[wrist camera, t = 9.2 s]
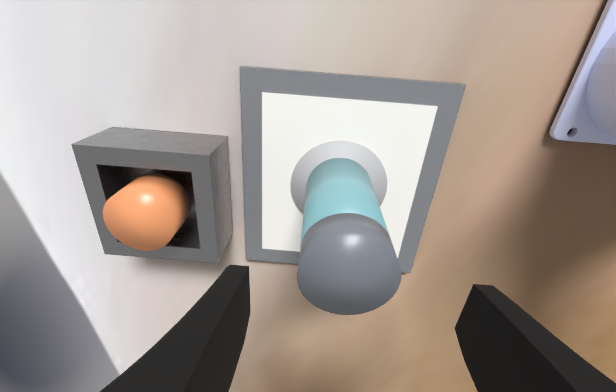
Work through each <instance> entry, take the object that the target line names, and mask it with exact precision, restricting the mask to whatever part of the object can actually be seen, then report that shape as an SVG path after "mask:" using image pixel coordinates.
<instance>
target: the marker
mask: <svg viewBox="0 0 616 392" xmlns="http://www.w3.org/2000/svg"><path fill="white" fill-rule="evenodd" d="M297 280H298V285H299V288H300V290H301V292H302V294H303V295H304V296H305V298H306V299H307V300H308V301H309V302H311V303H312V304H313V305H315V306H316V307H318V308H320V309H322V310H324V311H327V312H330V313H335V314H341V315H355V314H361V313H366V312H369V311H372V310H374V309H376V308H378V307H380V306H382V305H383V304H385V303H386V302H387V301H389V300H390V299H391V298H392V297H393V295H394V294H395V293H396V291H397V289H398V287H399V285H400V281H401V267H400V264H399V261H398V259H397V256H396V253H395V250H394V247H393V244H392V241H391V238H390V235H389V232H388V230H387V227H386V224H385V221H384V218H383V215H382V212H381V209H380V206H379V203H378V200H377V198H376V195H375V192H374V189H373V186H372V183H371V180H370V177H369V175H368V173H367V171H366V170H365V169H364V168H363V167H362V166H361V165H360V164H359V163H357V162H355V161H353V160H351V159H347V158H333V159H329V160H326V161H324V162H322V163H320V164H319V165H318V166H316V167H315V168H314V169H313V171H312V172H311V174H310V175H309V178H308V181H307V187H306V196H305V206H304V215H303V225H302V234H301V243H300V253H299V262H298V272H297Z"/></svg>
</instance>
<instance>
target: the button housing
mask: <svg viewBox="0 0 616 392" xmlns="http://www.w3.org/2000/svg"><path fill="white" fill-rule="evenodd" d="M71 145H72V148H73V151H74V154H75V158H76V161H77V164H78V168H79V171H80V174H81V177H82V181H83V184H84V187H85V190H86V194H87V197H88V200H89V204H90V207H91V210H92V213H93V217H94V220H95V223H96V227H97V230H98V233H99V236H100V240H101V243H102V246H103V249H104V253H105V254H111V255H123V256H135V257H147V258H159V259H171V260H184V261H196V262H208V263H219V261H220V259H221V256H222V254H223V252H224V250H225V248H226V246H227V243H228V241H229V239H230V237H231V235H232V233H233V226H232V207H231V189H230V171H229V153H228V136H218V135H206V134H193V133H181V132H169V131H156V130H144V129H131V128H119V127H112V128H109V129H107V130H104V131H102V132H100V133H97V134H95V135H92V136H90V137H88V138H85V139H83V140H80V141H78V142H76V143H73V144H71ZM146 173H159V174H163V175H166V176H169V177H171V178H172V179H174V180H176V181H177V182H178V183H179V184H180V185H181V186H182V187H183V188H184V189H185V191H186V192H187V194H188V196H189V198H190V202H191V210H190V214H189V216H188V217H187V219H186V220H185V222H184V223H183V224H182V226H181V227H180V228H179V229H178V231H177V232H176V233H175V235H174V236H173V237H172V239H171V240H170V241H169V243H168V244H167V245H165V246H164V247H162V248H160V249H157V250H153V251H143V250H138V249H134V248H131V247H129V246H127V245H125V244H123V243H122V242H120V241H119V240H118V239H116V238H115V237H114V236H113V235H112V234H111V232H110V231H109V230H108V228H107V226H106V225H105V222H104V219H103V208H104V205H105V203H106V201H107V200H108V199H109V198H110V197H112V196H113V195H114V194H116V193H117V192H118V191H120V190H121V189H122V188H124V187H125V186H126V185H128V184H129V183H130V182H132V181H133V180H134V179H136V178H137V177H139V176H140V175H143V174H146Z"/></svg>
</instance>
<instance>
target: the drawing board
mask: <svg viewBox="0 0 616 392" xmlns="http://www.w3.org/2000/svg"><path fill="white" fill-rule="evenodd" d="M465 86H466V85H465V84H461V83H448V82H435V81H423V80H410V79H398V78H385V77H373V76H360V75H348V74H335V73H323V72H310V71H298V70H285V69H273V68H260V67H247V66H241V67H240V91H241V122H242V153H243V184H244V215H245V246H246V260H256V261H268V262H280V263H292V264H298V262H299V253H300V243H301V234H302V225H303V215H304V206H305V196H306V187H307V181H308V178H309V175H310V174H311V172H312V171H313V169H314V168H315V167H316V166H318V165H319V164H320V163H322V162H324V161H326V160H329V159H333V158H347V159H351V160H353V161H355V162H357V163H359V164H360V165H361V166H362V167H363V168H364V169H365V170H366V171H367V173H368V175H369V177H370V180H371V183H372V186H373V189H374V192H375V195H376V198H377V200H378V203H379V206H380V209H381V212H382V215H383V218H384V221H385V224H386V227H387V230H388V232H389V235H390V238H391V241H392V244H393V247H394V250H395V253H396V256H397V259H398V261H399V264H400V267H401V272H402V273H410V272H411V268H412V265H413V262H414V258H415V255H416V252H417V248H418V245H419V241H420V238H421V235H422V231H423V228H424V225H425V221H426V218H427V214H428V211H429V208H430V204H431V201H432V198H433V194H434V191H435V188H436V184H437V181H438V177H439V174H440V171H441V167H442V164H443V161H444V157H445V154H446V150H447V147H448V144H449V140H450V137H451V134H452V130H453V127H454V124H455V120H456V117H457V113H458V110H459V107H460V103H461V100H462V97H463V93H464V90H465Z"/></svg>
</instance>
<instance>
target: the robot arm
mask: <svg viewBox="0 0 616 392" xmlns="http://www.w3.org/2000/svg"><path fill="white" fill-rule="evenodd" d="M571 128H572V131H571V133H570V134H568V135H567V132H568V131H569V130H570V129H571ZM549 133H550V136H551V137H552V138H554V139H556V140H563V141H575V142H588V143H600V144H613V145H616V0H608V2H607V4H606V6H605V8H604V10H603V13H602V15H601V17H600V19H599V22H598V24H597V26H596V28H595V31H594V33H593V35H592V37H591V39H590V42H589V44H588V46H587V48H586V51H585V53H584V55H583V57H582V59H581V62H580V64H579V66H578V68H577V71H576V73H575V75H574V77H573V80H572V82H571V84H570V86H569V88H568V91H567V93H566V95H565V97H564V100H563V102H562V104H561V106H560V109H559V111H558V113H557V115H556V117H555V120H554V122H553V124H552V126H551V129H550V132H549ZM249 316H250V285H249V266H238V265H229V266H228V267H227V268H226V269H225V270H224V271H223V273H222V274H221V275H220V276H219V277H218V279H217V280H216V281H215V282H214V283H213V285H212V286H211V287H210V288H209V289H208V290H207V291H206V293H205V294H204V295H203V296H202V297H201V298H200V299H199V300H198V301H197V303H196V304H195V305H194V306H193V307H192V308H191V309H190V310H189V311H188V312H187V313H186V314H185V315H184V317H183V318H182V319H181V320H180V321H179V322H178V323H177V324H176V325H175V326H174V327H172V328H171V329H170V330H169V331H168V332H167V333H166V334H165V335H164V336H163V337H162V338H161V339H160V340H159V341H158V342H157V343H156V344H155V345H154V346H153V347H152V348H151V349H150V350H148V351H147V352H146V353H145V354H144V355H143V356H142V357H141V358H140V359H138V360H137V361H136V362H135V363H134V364H133V365H132V366H130V367H129V368H128V369H127V370H126V371H125V372H123V373H122V374H121V375H120V376H119V377H117V378H116V379H115V380H114V381H112V382H111V383H110V384H109V385H107V386H106V387H105V388H104V389H102V390H101V391H100V392H229V388H230V385H231V382H232V379H233V376H234V373H235V370H236V367H237V363H238V360H239V357H240V354H241V351H242V348H243V344H244V340H245V336H246V331H247V326H248V321H249ZM455 331H456V334H457V338H458V341H459V345H460V348H461V351H462V354H463V357H464V360H465V363H466V365H467V368H468V370H469V372H470V375H471V377H472V379H473V382H474V384H475V386H476V388H477V391H478V392H616V383H614V382H613V381H612V380H610V379H609V378H608V377H606V376H605V375H604V374H603V373H601V372H600V371H599V370H597V369H596V368H595V367H593V366H592V365H591V364H589V363H588V362H587V361H585V360H584V359H583V358H582V357H580V356H579V355H578V354H577V353H575V352H574V351H573V350H572V349H570V348H569V347H568V346H567V345H565V344H564V343H563V342H562V341H560V340H559V339H558V338H557V337H555V336H554V335H553V334H552V333H550V332H549V331H548V330H547V329H546V328H544V327H543V326H542V325H541V324H540V323H538V322H537V321H536V320H535V319H534V318H532V317H531V316H530V315H529V314H528V313H526V312H525V311H524V310H523V309H521V308H520V307H519V306H518V305H517V304H515V303H514V302H513V301H512V300H511V299H509V298H508V297H507V296H506V295H504V294H503V293H502V292H500V291H499V290H498V289H496V288H495V287H494V286H490V285H478V284H473V287H472V289H471V291H470V294H469V296H468V298H467V301H466V303H465V305H464V308H463V310H462V312H461V315H460V317H459V319H458V322H457V324H456V326H455Z"/></svg>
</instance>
